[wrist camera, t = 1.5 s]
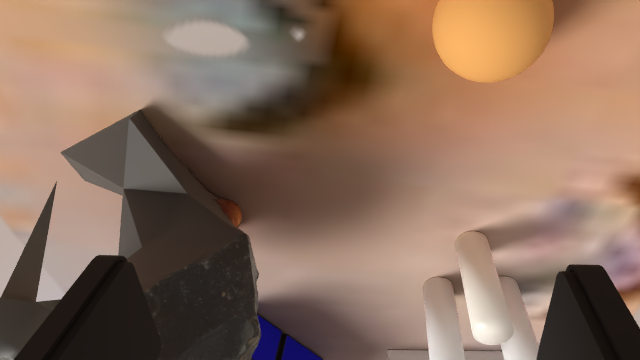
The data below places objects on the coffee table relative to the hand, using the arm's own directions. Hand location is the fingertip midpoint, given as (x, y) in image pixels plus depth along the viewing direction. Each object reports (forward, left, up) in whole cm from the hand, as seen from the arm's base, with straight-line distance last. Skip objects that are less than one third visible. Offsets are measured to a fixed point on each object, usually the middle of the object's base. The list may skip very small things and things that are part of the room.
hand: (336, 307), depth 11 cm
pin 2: (+20, +9, -22) cm, 31 cm away
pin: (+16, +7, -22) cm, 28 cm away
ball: (-1, +7, -19) cm, 20 cm away
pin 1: (+20, +4, -22) cm, 30 cm away
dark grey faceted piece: (+10, -15, -22) cm, 28 cm away
